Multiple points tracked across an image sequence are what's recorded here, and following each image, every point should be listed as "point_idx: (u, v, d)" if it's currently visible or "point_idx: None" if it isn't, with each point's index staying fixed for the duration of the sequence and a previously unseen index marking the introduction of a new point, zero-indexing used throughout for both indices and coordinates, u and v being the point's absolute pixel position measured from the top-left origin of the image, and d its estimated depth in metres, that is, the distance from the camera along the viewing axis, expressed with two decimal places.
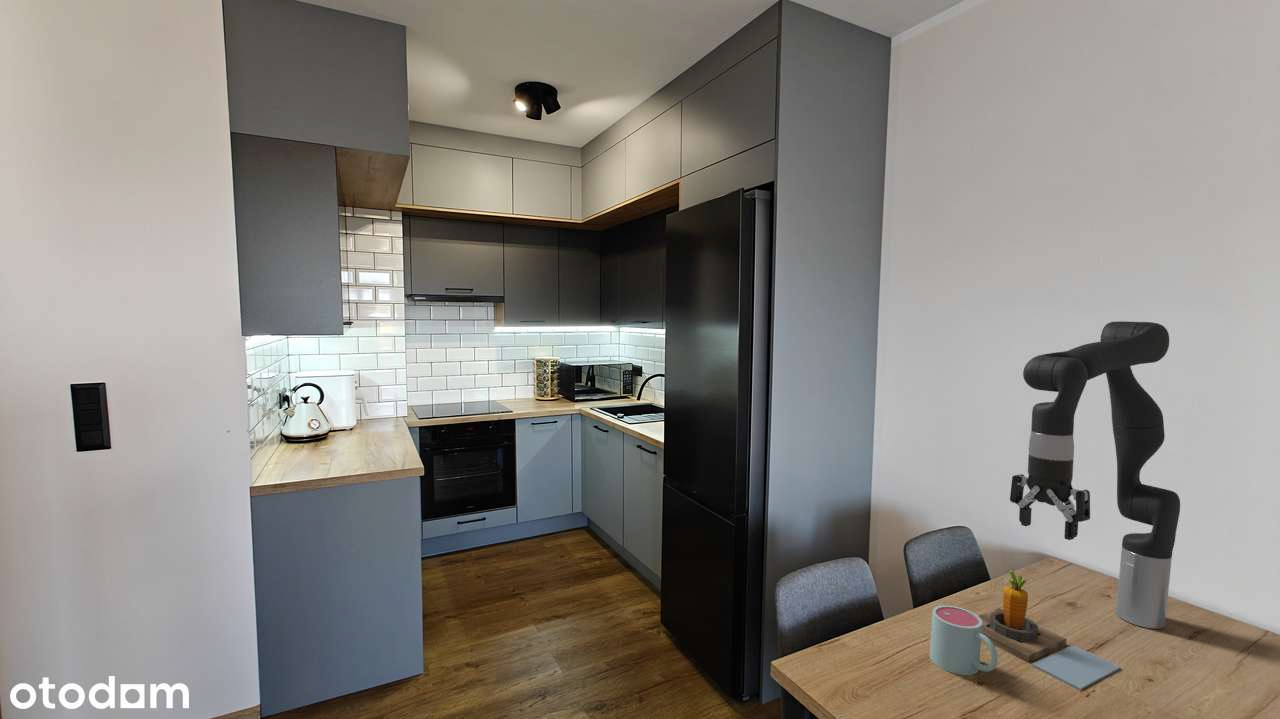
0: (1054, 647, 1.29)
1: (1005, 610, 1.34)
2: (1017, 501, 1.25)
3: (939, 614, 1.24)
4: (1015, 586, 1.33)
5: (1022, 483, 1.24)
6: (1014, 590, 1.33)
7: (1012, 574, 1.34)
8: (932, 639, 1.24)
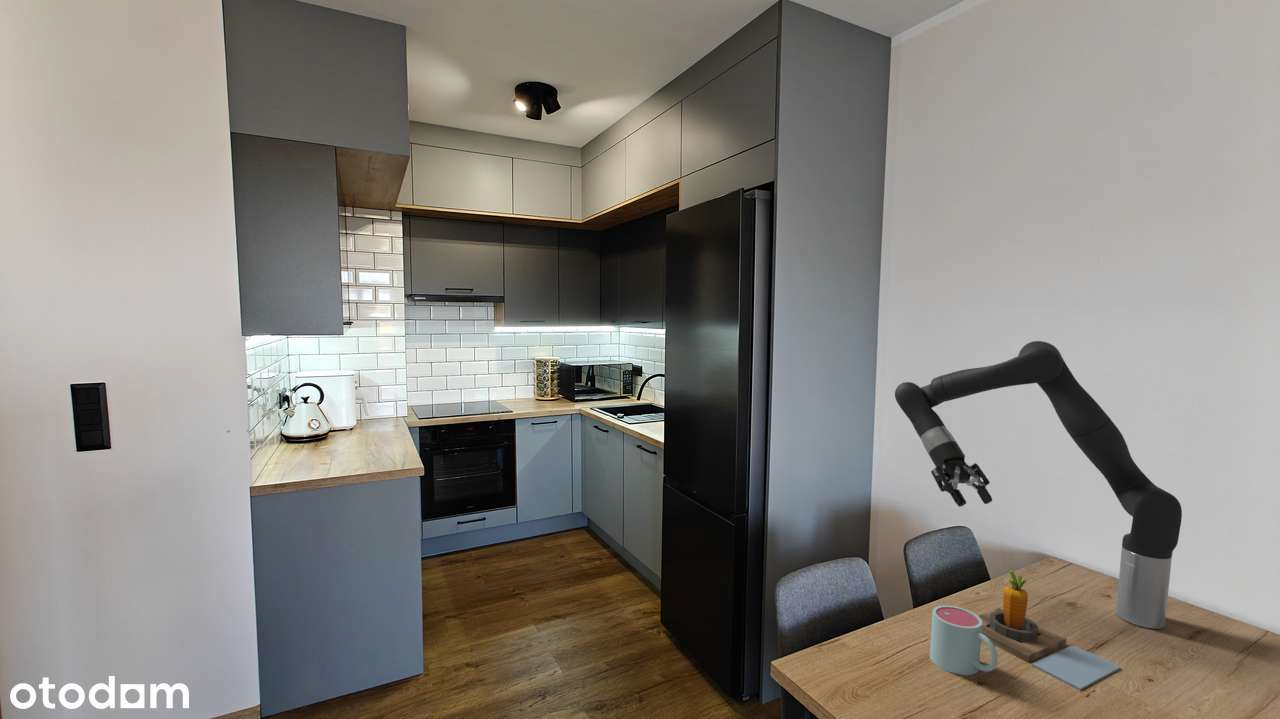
0: (1054, 647, 1.29)
1: (1005, 610, 1.34)
2: None
3: (939, 614, 1.24)
4: (1015, 586, 1.33)
5: None
6: (1014, 590, 1.33)
7: (1012, 574, 1.34)
8: (932, 639, 1.24)
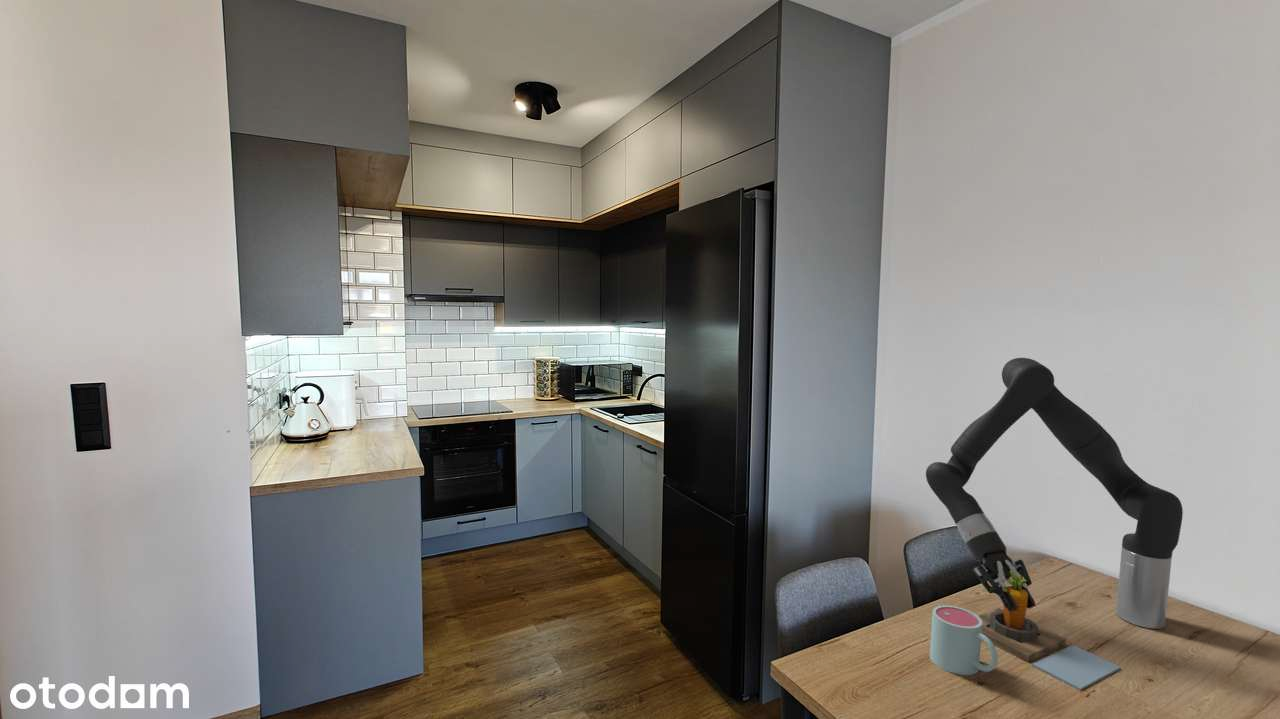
0: (1054, 647, 1.29)
1: (1005, 610, 1.34)
2: None
3: (939, 614, 1.24)
4: (1015, 586, 1.33)
5: None
6: (1014, 590, 1.33)
7: (1012, 574, 1.34)
8: (932, 639, 1.24)
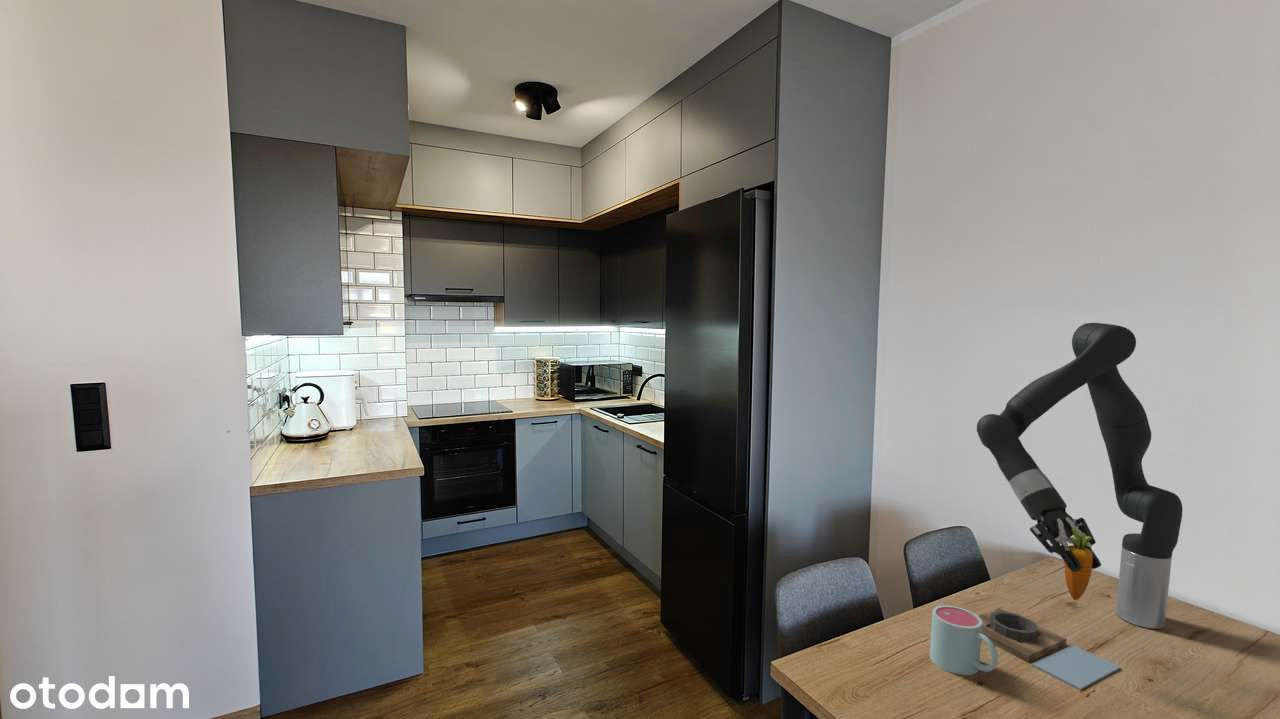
0: (1054, 647, 1.29)
1: (1067, 571, 1.22)
2: None
3: (939, 614, 1.24)
4: (1078, 545, 1.21)
5: None
6: (1077, 549, 1.21)
7: (1074, 532, 1.23)
8: (932, 639, 1.24)
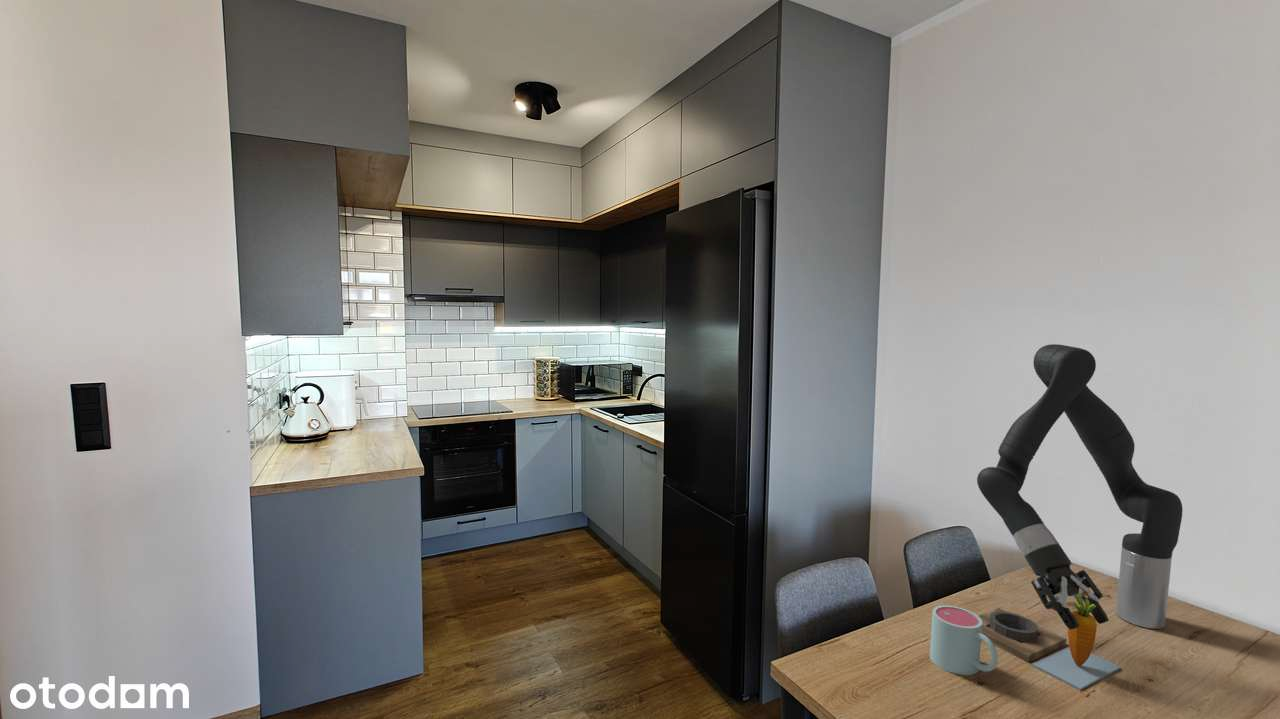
0: (1054, 647, 1.29)
1: (1071, 638, 1.22)
2: None
3: (939, 614, 1.24)
4: (1082, 612, 1.21)
5: None
6: (1081, 616, 1.21)
7: (1078, 598, 1.22)
8: (932, 639, 1.24)
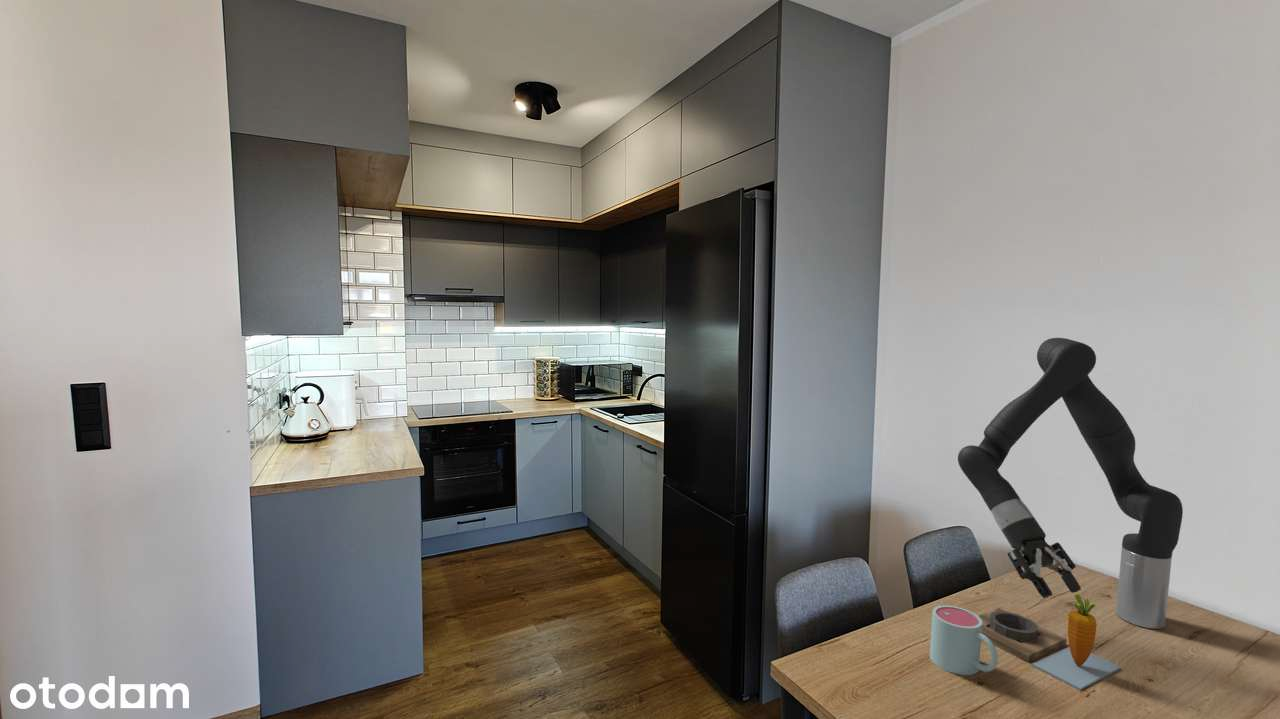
0: (1054, 647, 1.29)
1: (1071, 637, 1.22)
2: None
3: (939, 614, 1.24)
4: (1082, 611, 1.21)
5: None
6: (1081, 615, 1.21)
7: (1078, 597, 1.23)
8: (932, 639, 1.24)
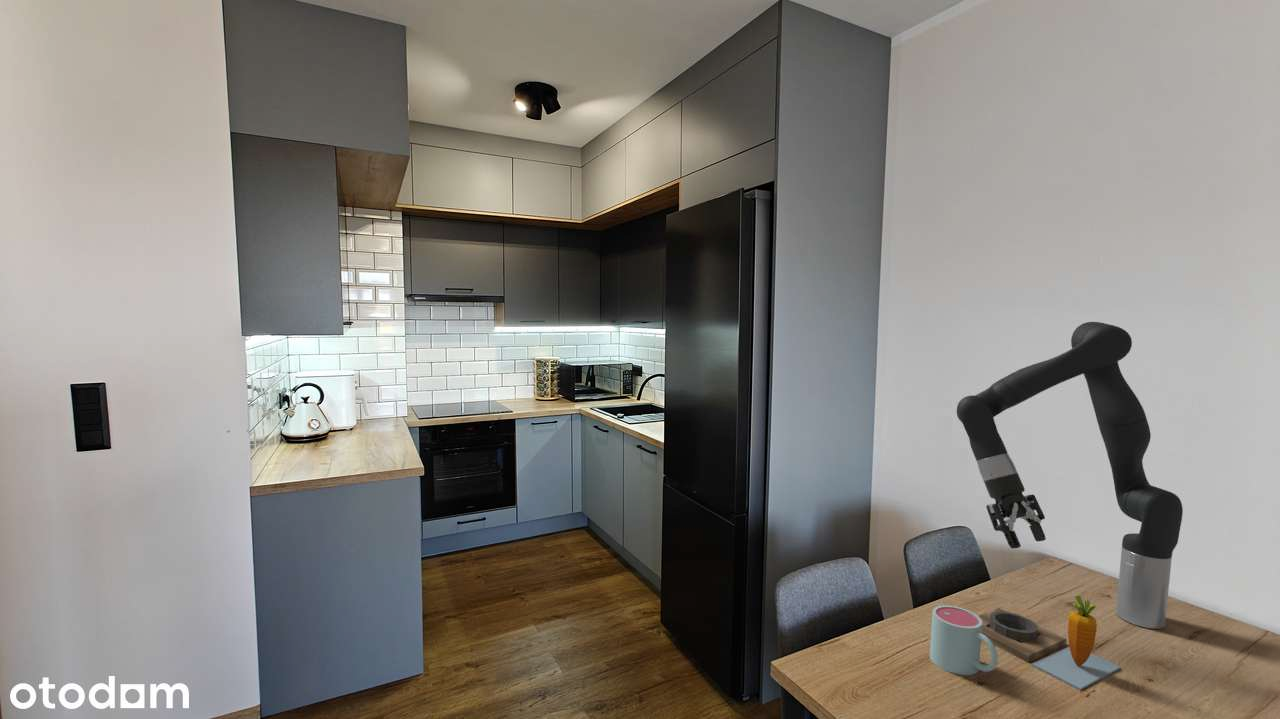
0: (1054, 647, 1.29)
1: (1071, 638, 1.22)
2: None
3: (939, 614, 1.24)
4: (1082, 612, 1.21)
5: None
6: (1081, 616, 1.21)
7: (1078, 598, 1.22)
8: (932, 639, 1.24)
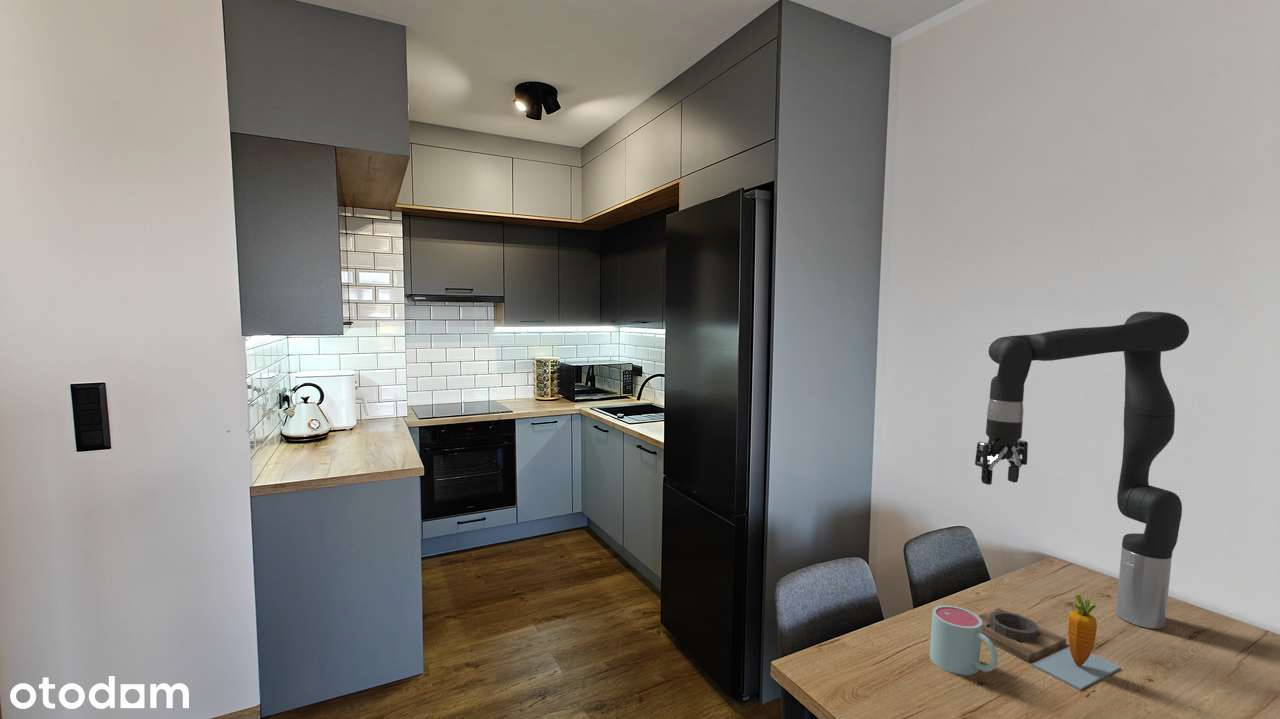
0: (1054, 647, 1.29)
1: (1071, 637, 1.22)
2: None
3: (939, 614, 1.24)
4: (1082, 611, 1.21)
5: None
6: (1081, 616, 1.21)
7: (1078, 598, 1.22)
8: (932, 639, 1.24)
